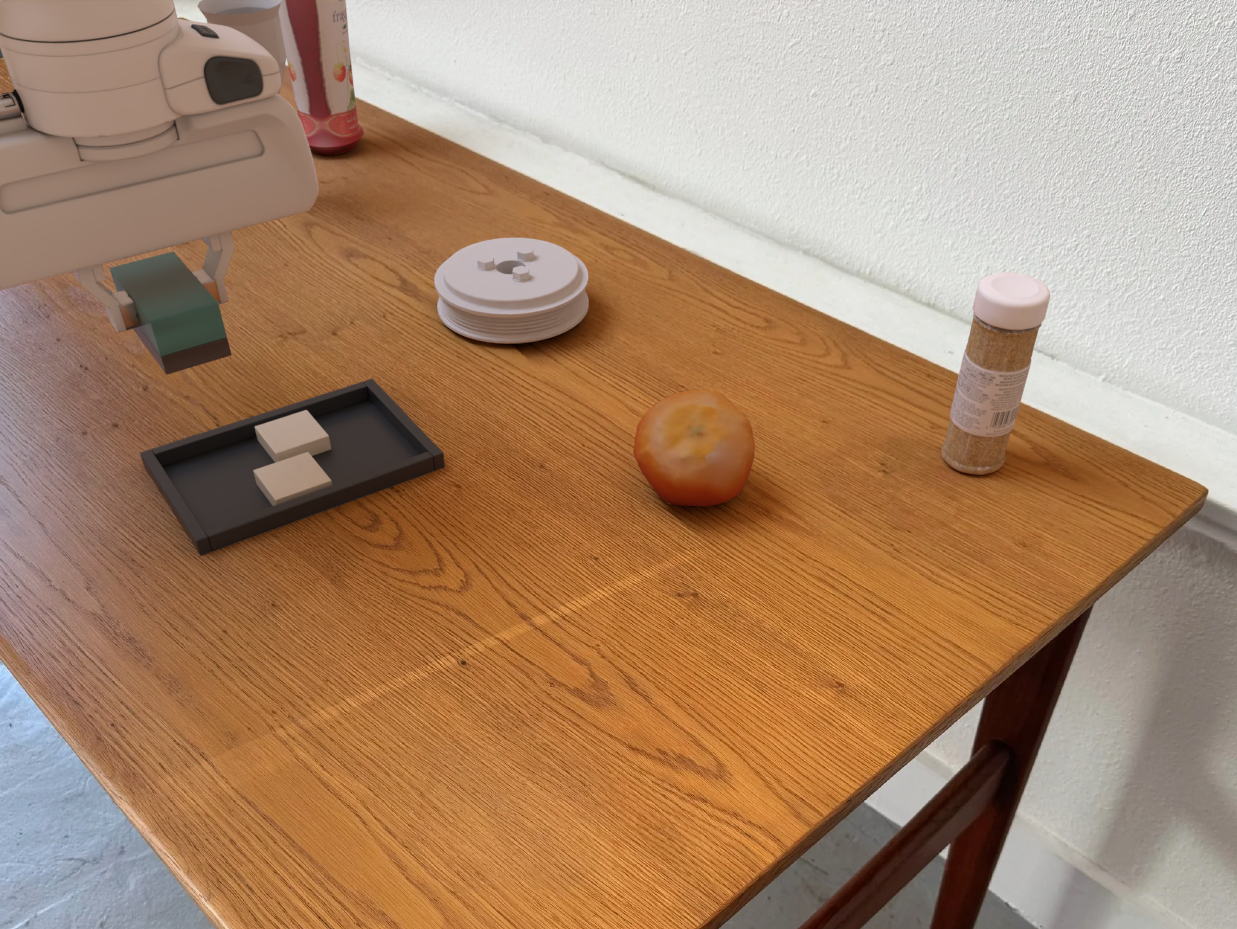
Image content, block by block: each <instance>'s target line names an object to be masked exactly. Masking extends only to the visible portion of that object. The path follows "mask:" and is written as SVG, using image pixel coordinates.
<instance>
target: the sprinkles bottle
mask: <svg viewBox="0 0 1237 929" xmlns="http://www.w3.org/2000/svg"><path fill="white" fill-rule="evenodd" d="M1050 299H1051V291H1050V289H1049V287H1048V286H1047V285H1046V283H1044V282H1042V281H1041V280H1039V279H1038V278H1036V277H1033V276H1031V275H1029V274H1028V275H1027V274H1024V273H1018V272H996V273H992V274H989V275H987V276H985V277H983V278H982V279H981V280H980V281H979V283H978V284H977V288H976V291H975V296H974V300H973V304H972V311H973V314H972V322H971V326H970V330H969V335H968V339H967V343H966V346H965V349H964V352H963V355H962V360H961V364H960V369H959V373H958V377H957V381H956V386H955V390H954V395H953V400H952V404H951V408H950V412H949V417H950V418H949V421H948V425H947V429H946V434H945V438H944V441H943V443H942V445H941V449H940V450H941V452H940V454H941V458H942V459H943V460H944V462H945V463H946V464H948V466H950V467H951V468H952V469H954V470H956V471H959V472H961V473H966V474H968V475H976V476H977V475H978V476H982V475H987V474H992V473H994V472H997V471H998V470H1000V469H1001V468H1002V467H1003V465H1004V463H1005V461H1006V450H1007V448H1008V444H1009V440H1010V436H1011V432H1012V430H1013V428H1014V427H1015V423H1016V421H1017V420H1016V419H1017V416H1018V413H1019V409H1020V405H1021V402H1022V398H1023V394H1024V390H1025V387H1026V384H1027V380H1028V376H1029V372H1030V369H1031V365H1032V356H1033V353H1034V349H1035V344H1036V341H1037V337H1038V335H1039V334H1038V333H1039V330H1040V328H1041V327H1042V324H1043V322H1044V321H1045V319H1046V315H1047V312H1048V308H1049V304H1050Z"/></svg>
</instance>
